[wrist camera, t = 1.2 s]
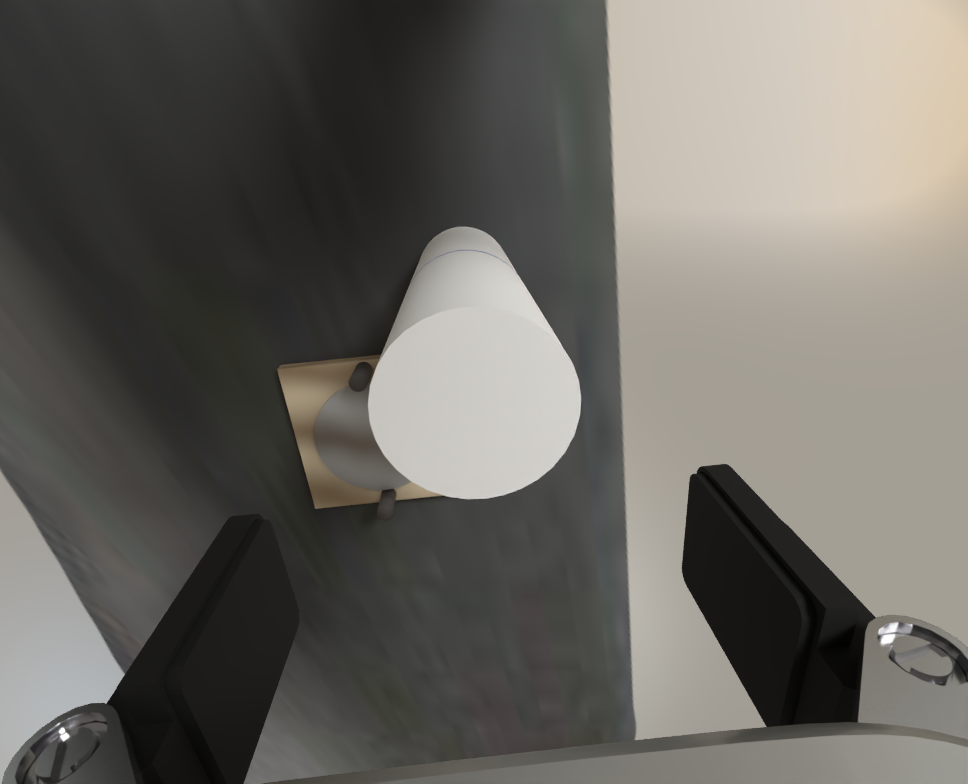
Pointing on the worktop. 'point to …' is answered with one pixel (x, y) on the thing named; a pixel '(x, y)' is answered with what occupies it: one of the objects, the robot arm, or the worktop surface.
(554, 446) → the cylindrical container
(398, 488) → the locking base
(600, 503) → the worktop surface
